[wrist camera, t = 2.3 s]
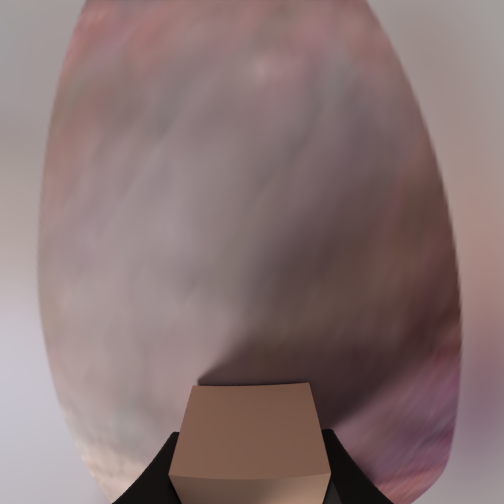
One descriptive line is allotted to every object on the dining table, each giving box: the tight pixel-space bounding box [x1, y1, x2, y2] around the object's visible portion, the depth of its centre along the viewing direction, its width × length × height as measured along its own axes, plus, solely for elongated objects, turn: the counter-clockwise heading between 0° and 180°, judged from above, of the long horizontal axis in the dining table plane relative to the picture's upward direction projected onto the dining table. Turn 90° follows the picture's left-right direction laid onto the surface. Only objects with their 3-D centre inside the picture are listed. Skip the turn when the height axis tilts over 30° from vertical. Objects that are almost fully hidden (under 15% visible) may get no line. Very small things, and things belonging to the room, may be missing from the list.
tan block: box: [168, 383, 331, 504], centre depth 8 cm, size 4×4×4 cm
